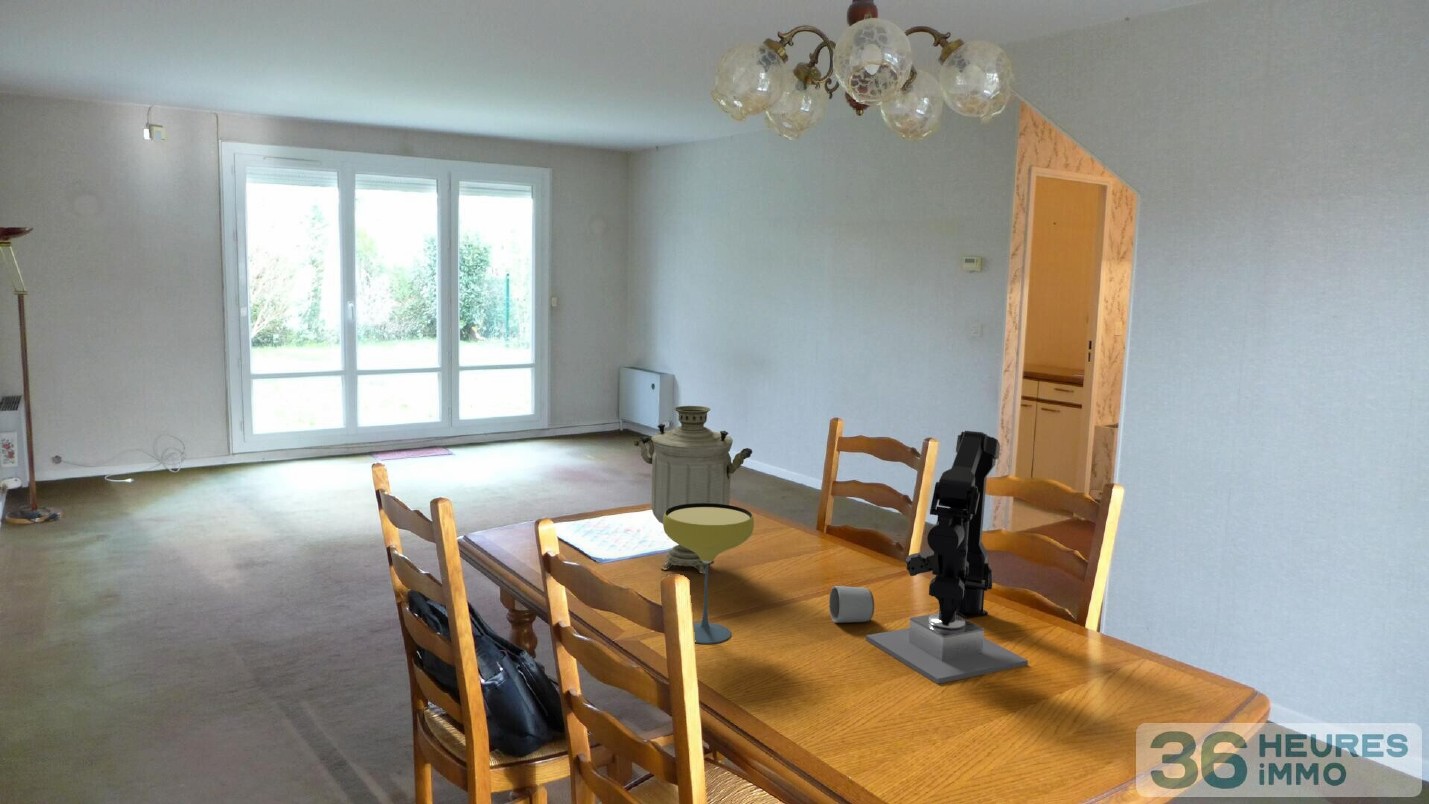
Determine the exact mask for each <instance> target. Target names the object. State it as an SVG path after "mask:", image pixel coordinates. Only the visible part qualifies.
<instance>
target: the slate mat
mask: <svg viewBox="0 0 1429 804" xmlns="http://www.w3.org/2000/svg"><path fill="white" fill-rule="evenodd" d="M865 641H866V642H868V643H870V644H871V645H873V646H874V647H876V648H878V649H880V650H881V651H883V652H885V653H886V654H888V655H889V656H891V657H892V658H893V659H895V660H898V661H899V662H901V663H902V664H904V665H906V666H907V667H909V668H910V669H912V670H914V671H915V672H917V673H918V674H921V676H924V677H925V678H926V679H928V680H930V681H932V682H933V683H935V684H936V685H939V684H944V683H945V684H946V683H949V682H954V681H957V680H958V681H959V680H963V679H968V678H973V677H977V676H982V675H983V676H984V675H987V674H992V673H993V674H994V673H997V672H1001V670H1002V671H1006V670H1007V671H1008V670H1011V668H1012V669H1015V668H1014V667H1017V668H1021V667H1020V666H1022V667H1026V666H1025V665H1027V666H1029V665H1028V664H1029V660H1028V659H1026V658H1024V657H1022V656H1021V655H1018V654H1017V653H1014V652H1013V651H1011V650H1009V649H1006V648H1005V647H1003V646H1001V645H1000V644H997V643H995V642H993V641H991V640H989V639H987V638H985V637H984V636H983V649H982V653H981V654H976V655H970V656H965V657H960V658H955V659H950V660H945V661H941V660H939V659H937V658H936V657H934V656H932V655H930V654H929V653H927V652H925V651H923V650H922V649H920V648H918V647H917V646H915V645H913V644H911V643H910V642H909V627H907V628H900V629H896V630H891V631H890V630H889V631H884V632H878V633H872V634H866V635H865Z"/></svg>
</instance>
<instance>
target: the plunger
mask: <svg viewBox="0 0 1429 804" xmlns="http://www.w3.org/2000/svg"><path fill="white" fill-rule="evenodd" d="M936 613H937V614H936ZM936 613H931V614H932V615H930V614H929V615H930V616H929V619H928V621H929V622H930V623H931V624H932V625H935V626H937V627H941V628H947V629H958V628H962V627H964V626H965V620H964V619H965V618H964V617H962V616H960V615H958V616H956V615H957V613H956V612H955V613H954V615H953V617H952V619H951V621H950V623H949V625H943V624H942V618H941V612H940V606H939V607H938V612H936ZM959 616H960V617H959ZM961 617H962V618H961ZM963 618H964V619H963Z"/></svg>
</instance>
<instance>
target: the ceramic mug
mask: <svg viewBox="0 0 1429 804" xmlns="http://www.w3.org/2000/svg"><path fill="white" fill-rule="evenodd" d="M828 602H829V614H830V618H831V620H832V622H833V623H835V624H837V623H838V624H839V623H840V624H842V623H843V624H844V623H847V624H848V623H866V622H869V621H871V619H873V616H874V614H875V598H874V595H873V592H872V591H871V589H869V588H866V587H862V586H861V587H858V586H843V585H834V586H832V588H831V590H830V593H829V600H828Z"/></svg>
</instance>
